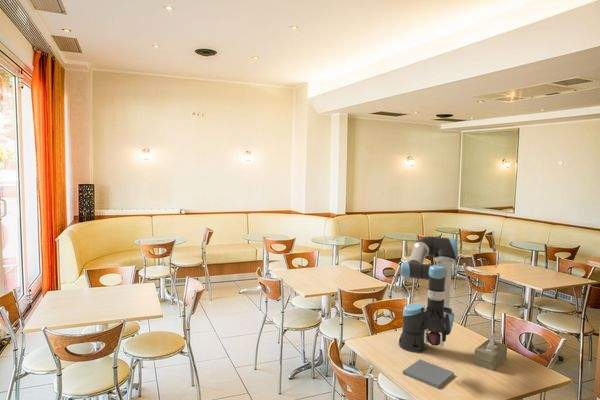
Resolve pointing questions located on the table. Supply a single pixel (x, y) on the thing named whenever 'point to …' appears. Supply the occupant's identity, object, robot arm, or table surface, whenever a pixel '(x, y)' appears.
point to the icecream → (433, 337)
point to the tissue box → (490, 354)
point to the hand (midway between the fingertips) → (433, 344)
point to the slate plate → (428, 373)
